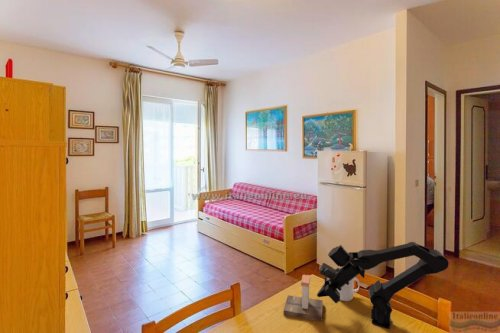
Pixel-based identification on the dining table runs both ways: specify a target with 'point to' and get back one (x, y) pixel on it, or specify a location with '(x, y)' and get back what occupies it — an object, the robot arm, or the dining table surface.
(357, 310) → the dining table surface
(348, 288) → the mug
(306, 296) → the fader tab
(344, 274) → the robot arm
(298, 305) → the fader console
